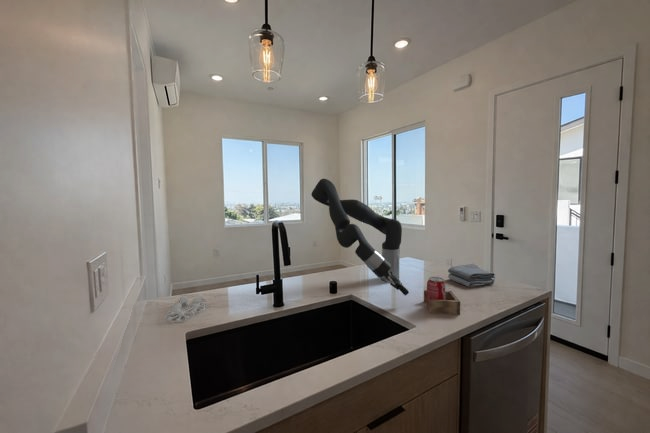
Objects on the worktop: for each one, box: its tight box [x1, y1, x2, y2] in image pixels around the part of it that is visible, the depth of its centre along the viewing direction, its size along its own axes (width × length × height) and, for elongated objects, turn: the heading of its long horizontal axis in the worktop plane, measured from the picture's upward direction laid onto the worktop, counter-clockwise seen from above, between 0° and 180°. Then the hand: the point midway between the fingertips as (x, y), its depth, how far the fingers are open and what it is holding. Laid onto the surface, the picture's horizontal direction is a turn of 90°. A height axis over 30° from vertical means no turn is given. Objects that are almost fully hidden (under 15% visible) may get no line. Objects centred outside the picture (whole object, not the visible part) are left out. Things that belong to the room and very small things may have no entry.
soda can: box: [426, 276, 447, 308], centre depth 112 cm, size 7×7×12 cm
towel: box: [447, 263, 496, 288], centre depth 146 cm, size 15×18×8 cm
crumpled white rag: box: [164, 295, 210, 324], centre depth 110 cm, size 19×14×4 cm
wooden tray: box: [423, 289, 461, 315], centre depth 113 cm, size 11×12×5 cm
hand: (407, 293), depth 115 cm, fingers closed
